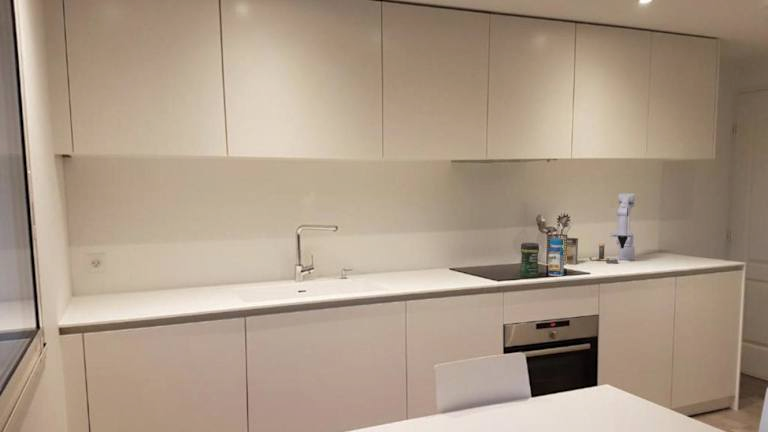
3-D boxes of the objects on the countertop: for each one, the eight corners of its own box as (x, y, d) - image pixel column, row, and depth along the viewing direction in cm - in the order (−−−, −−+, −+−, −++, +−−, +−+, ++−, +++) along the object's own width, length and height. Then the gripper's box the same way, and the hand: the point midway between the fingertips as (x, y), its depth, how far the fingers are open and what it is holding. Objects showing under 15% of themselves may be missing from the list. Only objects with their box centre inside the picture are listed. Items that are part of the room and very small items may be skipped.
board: (608, 259, 346) (608, 257, 346) (610, 261, 337) (610, 259, 337) (589, 258, 350) (589, 257, 350) (590, 260, 340) (590, 259, 340)
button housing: (616, 262, 333) (616, 258, 333) (617, 263, 327) (617, 260, 327) (606, 261, 335) (606, 258, 335) (607, 263, 329) (607, 259, 329)
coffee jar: (525, 278, 281) (525, 243, 280) (517, 275, 289) (518, 242, 288) (541, 277, 284) (541, 243, 283) (533, 274, 291) (533, 241, 290)
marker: (604, 258, 344) (604, 243, 344) (604, 258, 341) (604, 244, 340) (598, 258, 345) (598, 243, 345) (599, 258, 342) (599, 244, 341)
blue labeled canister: (566, 275, 287) (567, 239, 285) (552, 276, 285) (553, 240, 284) (558, 273, 295) (559, 238, 294) (545, 273, 293) (545, 238, 292)
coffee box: (560, 263, 330) (560, 238, 329) (562, 262, 335) (563, 237, 334) (575, 264, 325) (576, 239, 324) (577, 263, 330) (578, 238, 329)
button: (614, 261, 332) (614, 258, 332) (615, 262, 329) (615, 258, 329) (608, 261, 333) (608, 257, 333) (609, 262, 330) (609, 258, 330)
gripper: (611, 227, 327) (610, 248, 328) (636, 227, 323) (635, 249, 324) (609, 226, 334) (609, 247, 335) (634, 226, 330) (634, 248, 331)
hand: (622, 248), depth 330 cm, fingers closed
